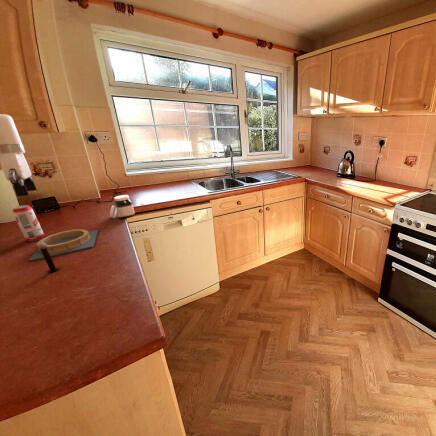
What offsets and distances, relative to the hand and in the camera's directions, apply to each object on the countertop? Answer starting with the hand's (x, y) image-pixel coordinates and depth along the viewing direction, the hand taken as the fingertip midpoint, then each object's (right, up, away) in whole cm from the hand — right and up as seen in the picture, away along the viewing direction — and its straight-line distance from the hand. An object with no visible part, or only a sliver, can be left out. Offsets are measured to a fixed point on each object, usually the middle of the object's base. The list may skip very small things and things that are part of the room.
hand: (27, 193), depth 98 cm
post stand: (+21, -29, -10) cm, 37 cm away
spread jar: (+12, -10, +39) cm, 42 cm away
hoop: (+8, -21, +8) cm, 24 cm away
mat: (+8, -22, +9) cm, 25 cm away
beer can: (-12, -20, +15) cm, 28 cm away
